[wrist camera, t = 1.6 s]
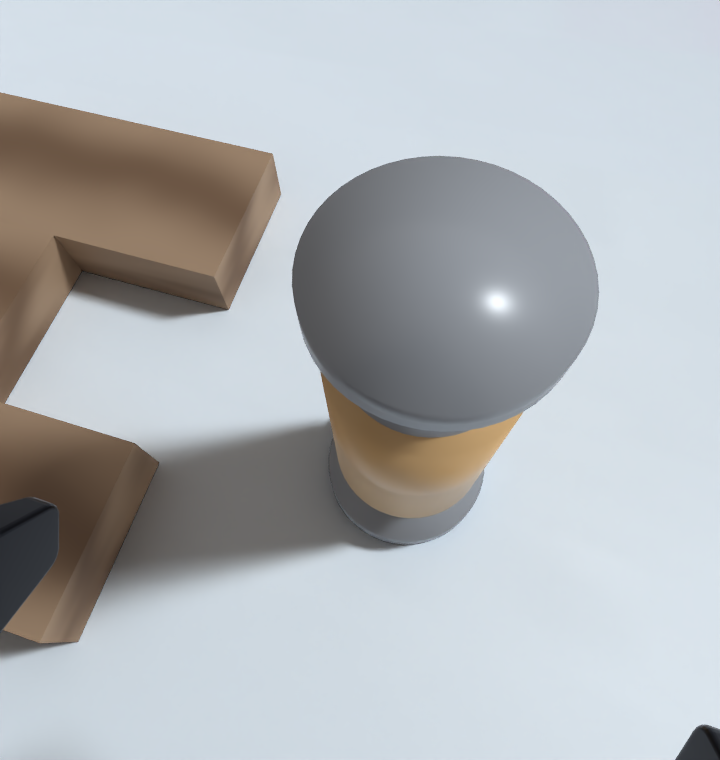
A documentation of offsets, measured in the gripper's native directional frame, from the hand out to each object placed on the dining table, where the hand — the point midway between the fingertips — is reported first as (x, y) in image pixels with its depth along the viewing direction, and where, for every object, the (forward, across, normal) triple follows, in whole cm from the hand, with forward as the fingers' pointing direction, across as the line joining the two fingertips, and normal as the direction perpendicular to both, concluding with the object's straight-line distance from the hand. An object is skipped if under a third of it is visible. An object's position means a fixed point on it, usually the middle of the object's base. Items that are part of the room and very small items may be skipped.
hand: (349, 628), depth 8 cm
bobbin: (+13, 0, +5) cm, 14 cm away
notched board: (+14, +16, +4) cm, 22 cm away
